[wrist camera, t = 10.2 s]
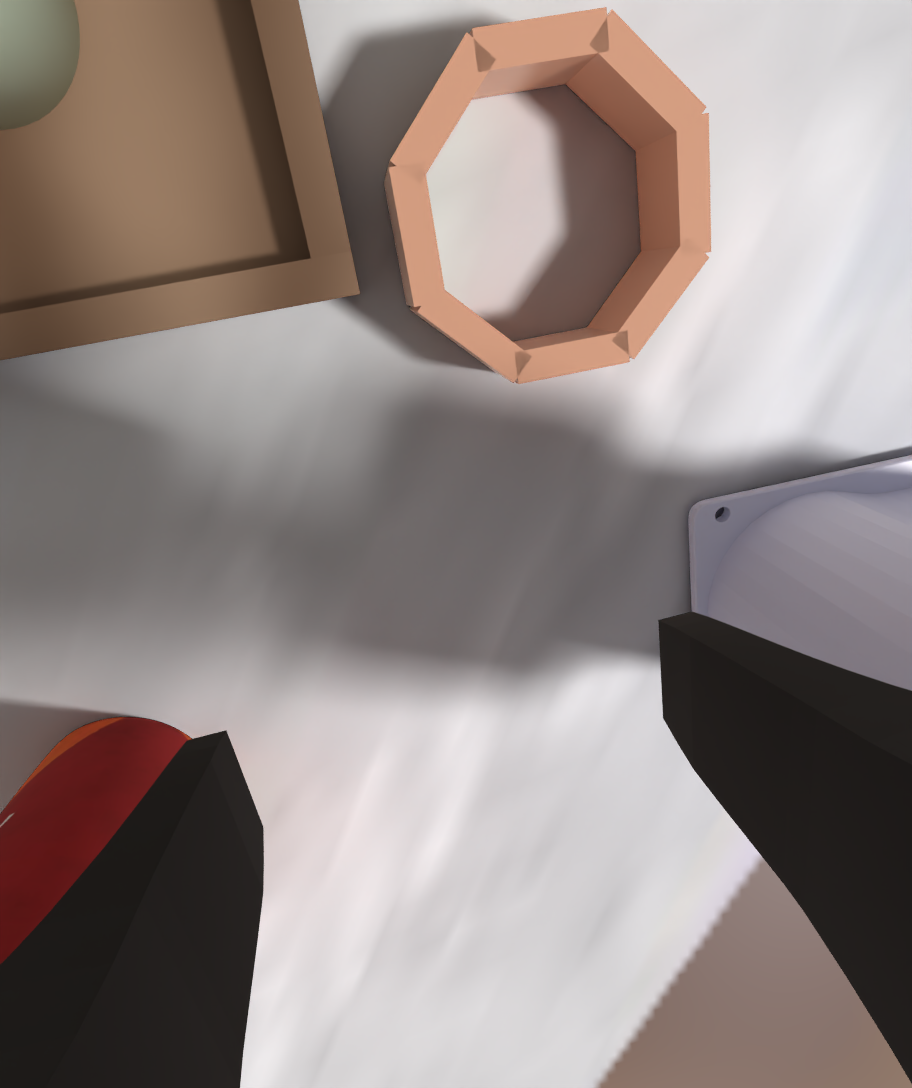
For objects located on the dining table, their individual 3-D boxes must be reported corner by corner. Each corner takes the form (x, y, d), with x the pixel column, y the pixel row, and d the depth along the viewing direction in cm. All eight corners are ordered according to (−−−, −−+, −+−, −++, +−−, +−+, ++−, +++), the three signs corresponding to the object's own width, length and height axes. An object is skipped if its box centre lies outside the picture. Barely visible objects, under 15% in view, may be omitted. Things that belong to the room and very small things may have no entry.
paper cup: (-37, 721, 21) (-689, 1447, 8) (207, 663, 21) (-19, 1251, 8) (65, 896, 24) (-281, 1631, 11) (277, 841, 24) (191, 1479, 11)
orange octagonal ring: (659, 31, 17) (706, -8, 14) (671, 339, 20) (712, 345, 17) (364, 78, 16) (366, 44, 14) (422, 388, 19) (431, 401, 17)
